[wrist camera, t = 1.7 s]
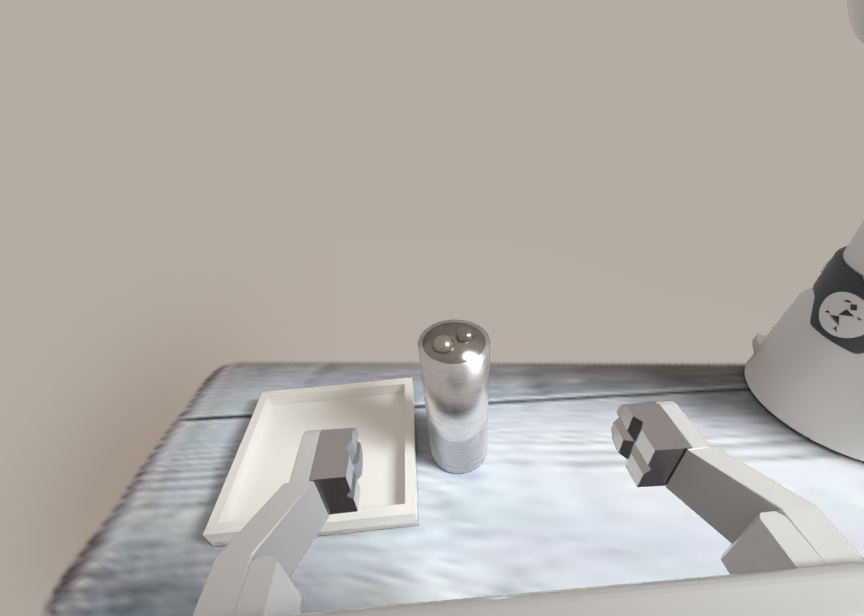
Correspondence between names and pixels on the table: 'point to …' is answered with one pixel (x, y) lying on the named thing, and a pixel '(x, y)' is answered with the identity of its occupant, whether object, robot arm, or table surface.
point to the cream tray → (318, 410)
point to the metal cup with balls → (456, 392)
